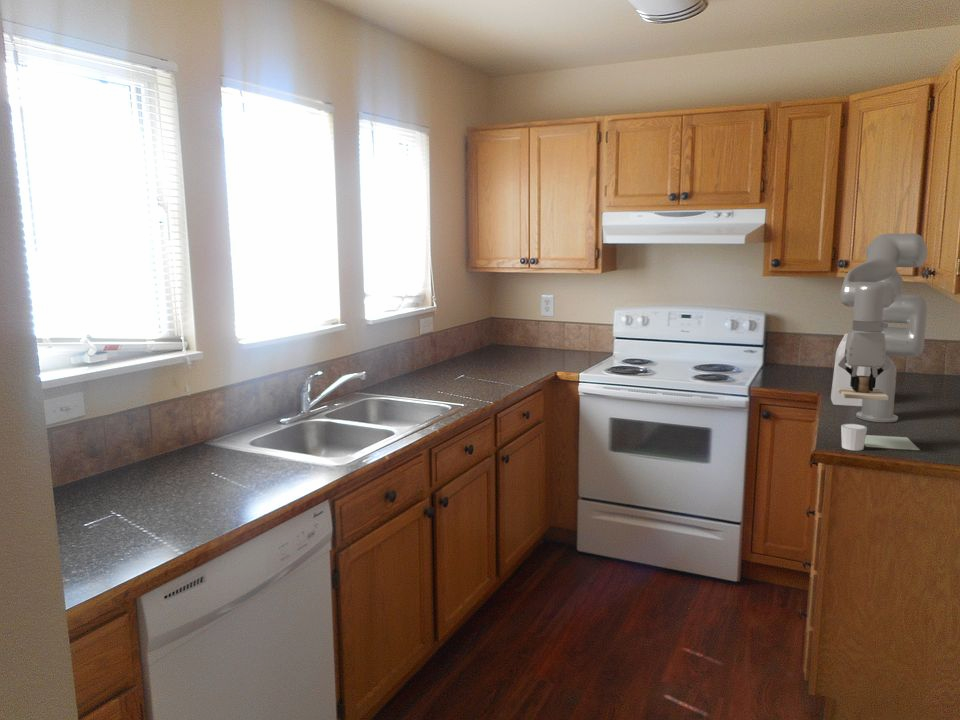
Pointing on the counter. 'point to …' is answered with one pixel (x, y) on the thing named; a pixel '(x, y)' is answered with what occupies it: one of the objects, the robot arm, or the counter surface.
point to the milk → (843, 378)
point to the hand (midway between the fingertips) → (862, 389)
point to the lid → (863, 391)
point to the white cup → (853, 436)
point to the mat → (889, 442)
